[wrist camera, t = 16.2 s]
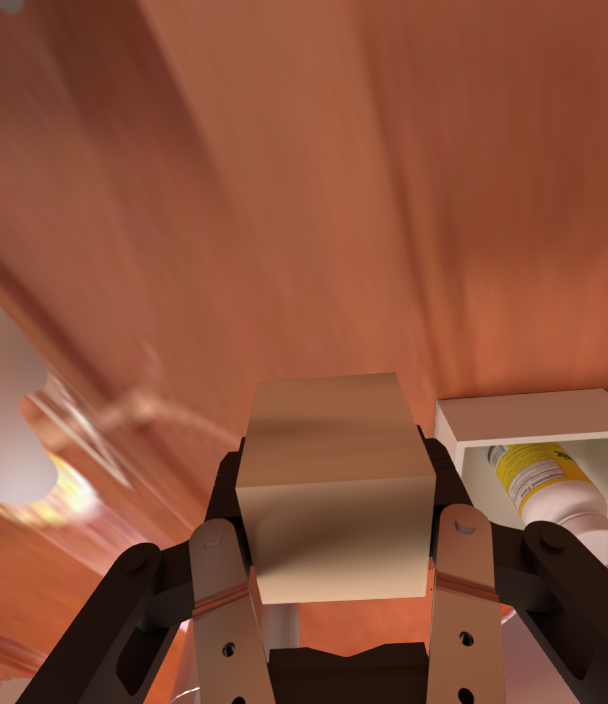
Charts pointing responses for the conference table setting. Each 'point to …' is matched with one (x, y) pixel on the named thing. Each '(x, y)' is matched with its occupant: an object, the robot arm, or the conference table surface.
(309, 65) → the conference table surface
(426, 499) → the birch cube
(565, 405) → the box
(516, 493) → the supplement bottle
